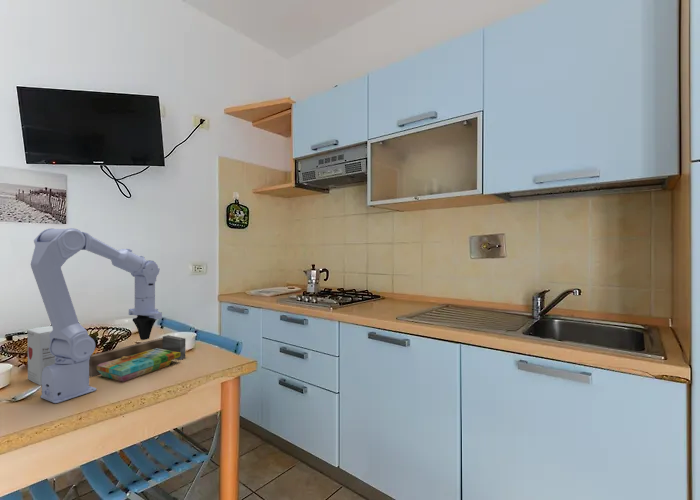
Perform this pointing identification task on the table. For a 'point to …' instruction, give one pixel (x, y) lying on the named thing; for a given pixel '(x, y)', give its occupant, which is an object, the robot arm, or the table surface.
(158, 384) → the table surface
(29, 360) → the supplement box
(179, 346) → the shelf corner
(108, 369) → the puzzle game
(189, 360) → the table surface
